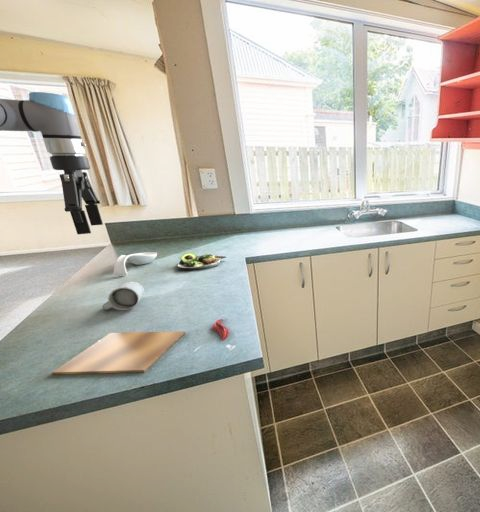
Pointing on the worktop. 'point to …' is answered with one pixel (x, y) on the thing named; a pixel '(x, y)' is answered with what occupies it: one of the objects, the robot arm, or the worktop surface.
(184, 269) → the salad plate
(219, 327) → the cayenne pepper
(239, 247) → the worktop surface
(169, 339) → the cutting board
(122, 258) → the spoon rest
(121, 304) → the ceramic mug
